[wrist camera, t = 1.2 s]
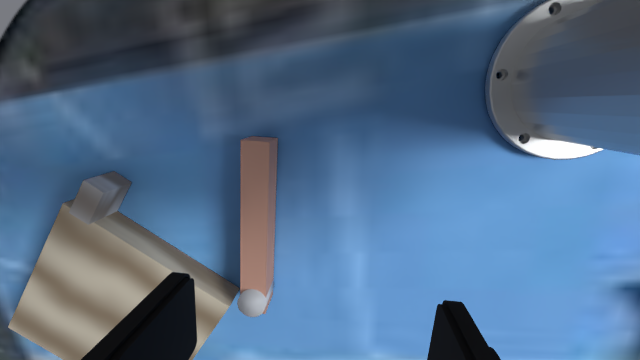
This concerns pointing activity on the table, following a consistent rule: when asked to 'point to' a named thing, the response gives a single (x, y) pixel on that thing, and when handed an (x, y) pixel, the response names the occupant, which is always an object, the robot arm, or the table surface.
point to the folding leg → (257, 223)
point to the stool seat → (105, 274)
